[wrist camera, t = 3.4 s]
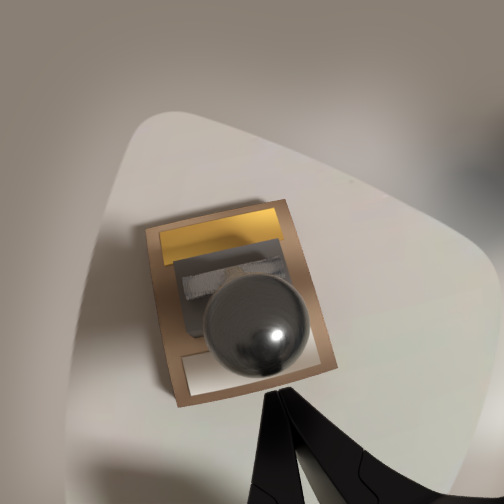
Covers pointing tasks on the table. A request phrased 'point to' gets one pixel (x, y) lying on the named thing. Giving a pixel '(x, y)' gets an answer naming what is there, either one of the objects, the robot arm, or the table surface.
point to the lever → (251, 317)
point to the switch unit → (191, 312)
